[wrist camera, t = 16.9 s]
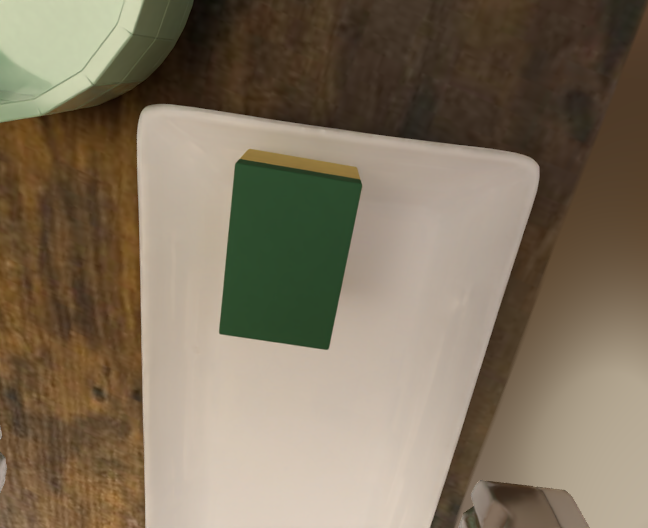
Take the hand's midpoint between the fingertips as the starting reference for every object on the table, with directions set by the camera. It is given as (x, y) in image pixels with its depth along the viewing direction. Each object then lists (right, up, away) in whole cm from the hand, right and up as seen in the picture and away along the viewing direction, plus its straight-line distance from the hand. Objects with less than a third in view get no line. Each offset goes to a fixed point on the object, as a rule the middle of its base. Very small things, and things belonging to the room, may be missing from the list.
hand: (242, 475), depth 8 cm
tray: (0, -4, +20) cm, 20 cm away
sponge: (0, +5, +12) cm, 13 cm away
